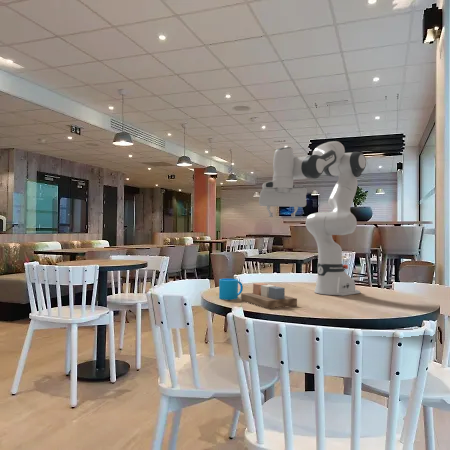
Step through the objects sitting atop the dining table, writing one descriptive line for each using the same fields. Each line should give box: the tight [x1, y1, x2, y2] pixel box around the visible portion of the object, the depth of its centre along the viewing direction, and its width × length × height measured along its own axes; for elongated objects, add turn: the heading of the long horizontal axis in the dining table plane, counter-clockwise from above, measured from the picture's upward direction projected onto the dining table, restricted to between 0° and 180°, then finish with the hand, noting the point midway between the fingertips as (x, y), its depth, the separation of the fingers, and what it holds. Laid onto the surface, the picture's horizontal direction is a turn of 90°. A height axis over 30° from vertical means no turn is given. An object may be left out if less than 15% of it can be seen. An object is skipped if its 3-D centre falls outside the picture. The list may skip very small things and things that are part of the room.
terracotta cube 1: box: [252, 282, 269, 295], centre depth 182 cm, size 4×4×4 cm
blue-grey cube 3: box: [269, 286, 286, 300], centre depth 171 cm, size 4×4×4 cm
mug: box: [218, 278, 244, 301], centre depth 189 cm, size 12×8×8 cm
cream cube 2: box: [261, 284, 277, 297], centre depth 176 cm, size 4×4×4 cm
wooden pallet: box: [240, 292, 298, 309], centre depth 176 cm, size 14×20×3 cm
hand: (282, 217), depth 183 cm, fingers open, 8 cm apart
